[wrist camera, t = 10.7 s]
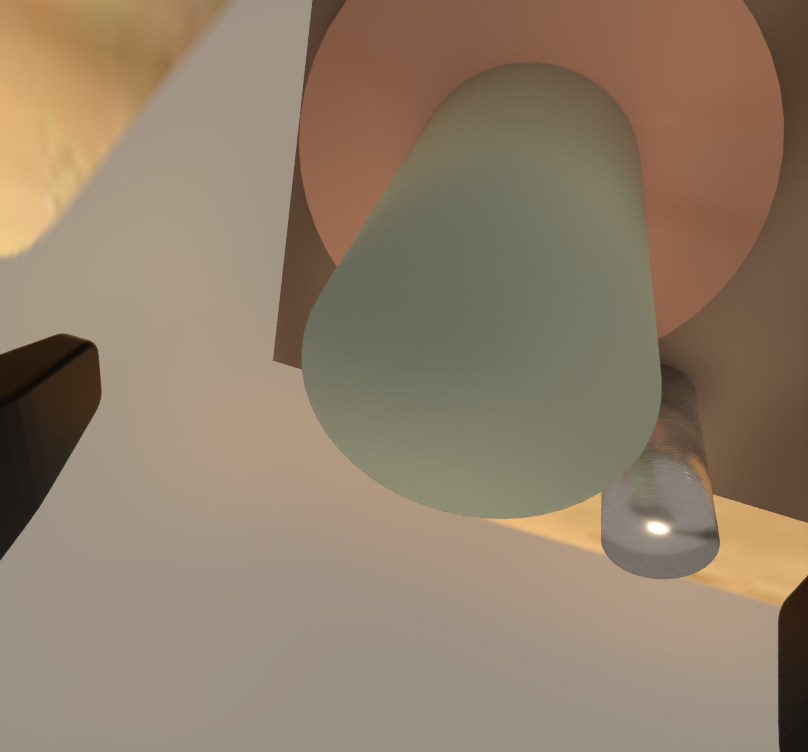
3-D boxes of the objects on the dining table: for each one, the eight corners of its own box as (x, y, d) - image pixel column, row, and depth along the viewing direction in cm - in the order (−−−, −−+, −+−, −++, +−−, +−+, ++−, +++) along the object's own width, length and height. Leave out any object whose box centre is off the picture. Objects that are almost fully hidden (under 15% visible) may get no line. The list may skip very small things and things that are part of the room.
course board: (1399, -58, 12) (1449, -51, 11) (860, 524, 21) (869, 548, 20) (357, -321, 13) (343, -329, 12) (280, 349, 22) (269, 366, 21)
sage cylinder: (691, 173, 16) (747, 401, 9) (528, 314, 18) (487, 562, 12) (519, 7, 14) (450, 140, 8) (374, 185, 17) (241, 385, 11)
